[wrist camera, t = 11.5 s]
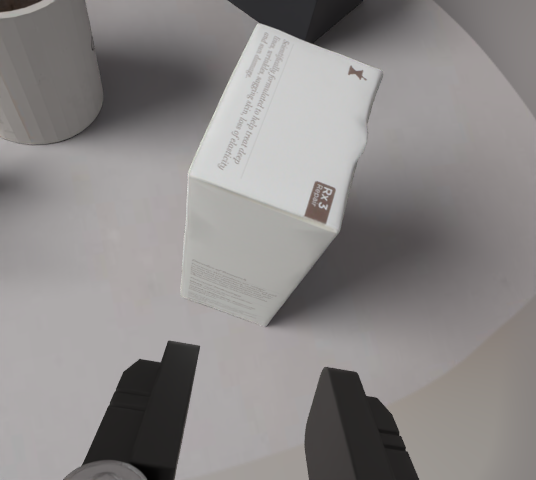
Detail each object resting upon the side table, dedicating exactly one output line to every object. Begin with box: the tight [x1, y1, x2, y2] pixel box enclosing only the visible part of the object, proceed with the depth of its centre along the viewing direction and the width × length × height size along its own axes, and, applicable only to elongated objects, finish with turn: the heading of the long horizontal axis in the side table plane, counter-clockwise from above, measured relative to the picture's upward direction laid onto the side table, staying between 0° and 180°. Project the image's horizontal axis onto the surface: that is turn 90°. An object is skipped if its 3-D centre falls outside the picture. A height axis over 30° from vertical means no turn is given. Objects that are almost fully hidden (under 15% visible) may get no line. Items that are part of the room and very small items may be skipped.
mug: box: [0, 0, 103, 145], centre depth 30 cm, size 12×9×10 cm
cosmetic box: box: [180, 24, 383, 327], centre depth 24 cm, size 8×6×15 cm
